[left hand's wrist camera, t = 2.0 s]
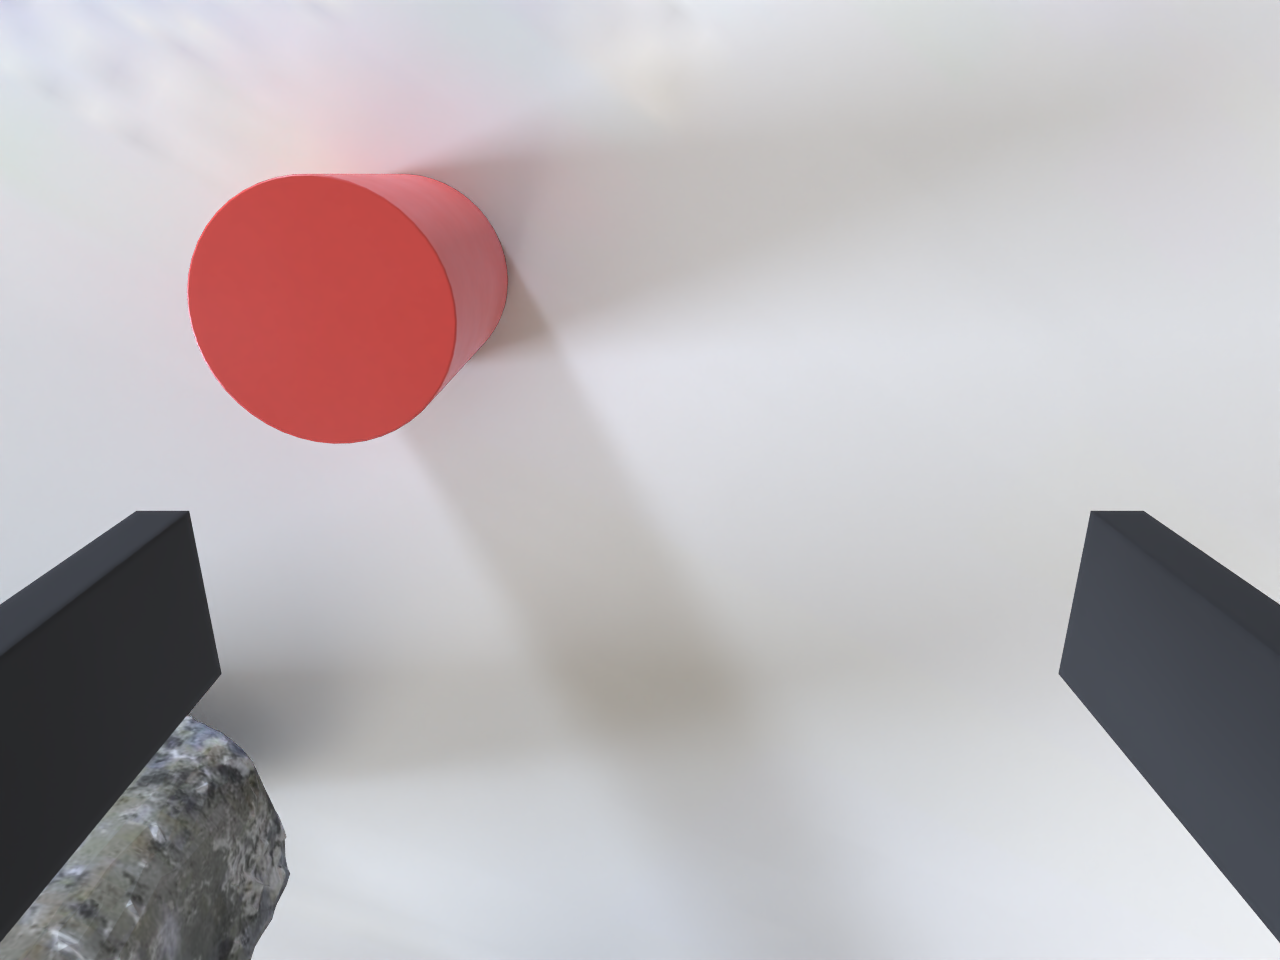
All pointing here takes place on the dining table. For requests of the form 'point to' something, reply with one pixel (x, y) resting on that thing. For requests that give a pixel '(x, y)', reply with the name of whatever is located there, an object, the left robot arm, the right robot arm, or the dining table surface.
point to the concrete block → (167, 865)
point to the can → (344, 299)
